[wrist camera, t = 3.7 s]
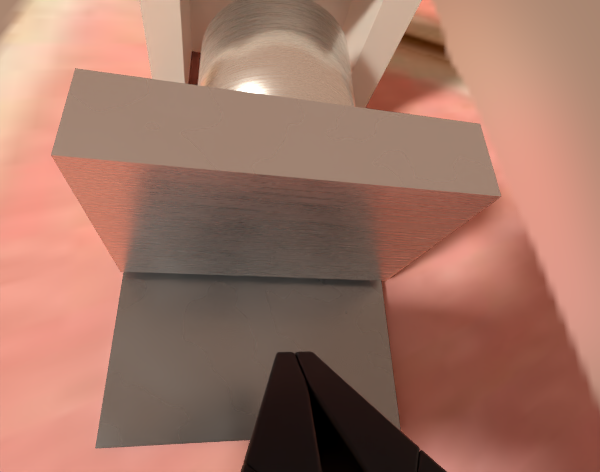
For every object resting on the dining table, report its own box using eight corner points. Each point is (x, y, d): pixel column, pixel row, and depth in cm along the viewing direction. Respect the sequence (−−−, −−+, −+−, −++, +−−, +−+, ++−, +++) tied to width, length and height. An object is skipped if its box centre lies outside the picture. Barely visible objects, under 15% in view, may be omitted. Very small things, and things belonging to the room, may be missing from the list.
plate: (396, 430, 15) (400, 431, 15) (98, 447, 13) (95, 448, 13) (357, 125, 22) (360, 120, 21) (153, 99, 19) (152, 93, 19)
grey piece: (386, 280, 17) (501, 196, 10) (120, 271, 15) (51, 154, 8) (366, 136, 20) (444, 2, 14) (147, 109, 18) (113, -67, 11)
